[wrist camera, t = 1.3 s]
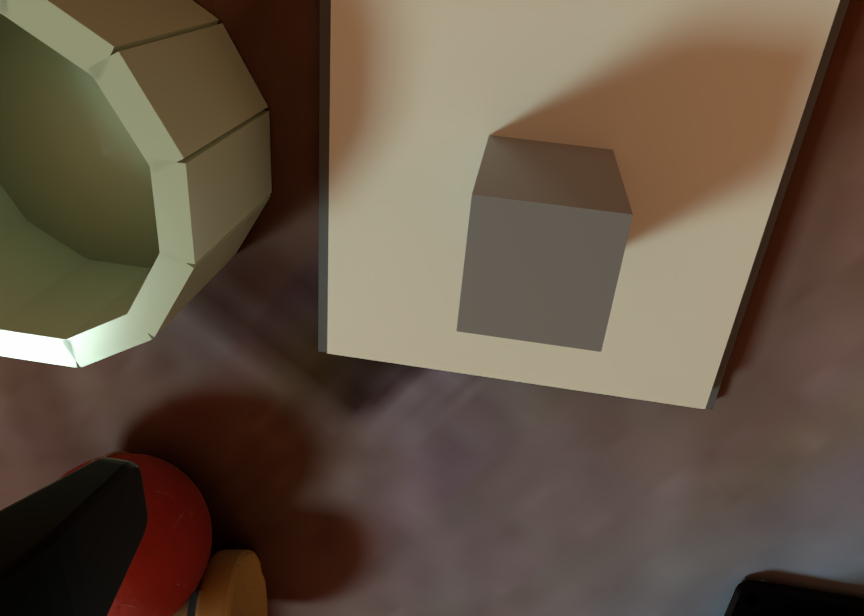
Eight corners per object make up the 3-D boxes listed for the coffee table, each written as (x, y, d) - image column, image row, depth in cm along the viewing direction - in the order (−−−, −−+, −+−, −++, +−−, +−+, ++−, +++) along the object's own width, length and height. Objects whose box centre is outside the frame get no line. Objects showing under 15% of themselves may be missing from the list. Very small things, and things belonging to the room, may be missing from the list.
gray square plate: (857, -43, 15) (864, -42, 15) (709, 401, 21) (712, 409, 21) (324, -91, 16) (319, -91, 16) (321, 344, 22) (318, 351, 22)
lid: (831, -19, 15) (954, 1, 11) (700, 393, 21) (744, 525, 16) (341, -65, 16) (258, -65, 12) (334, 339, 22) (276, 450, 17)
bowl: (265, -27, 17) (170, -14, 13) (274, 296, 22) (205, 387, 17) (-73, -61, 18) (-270, -59, 14) (1, 257, 22) (-131, 335, 18)
